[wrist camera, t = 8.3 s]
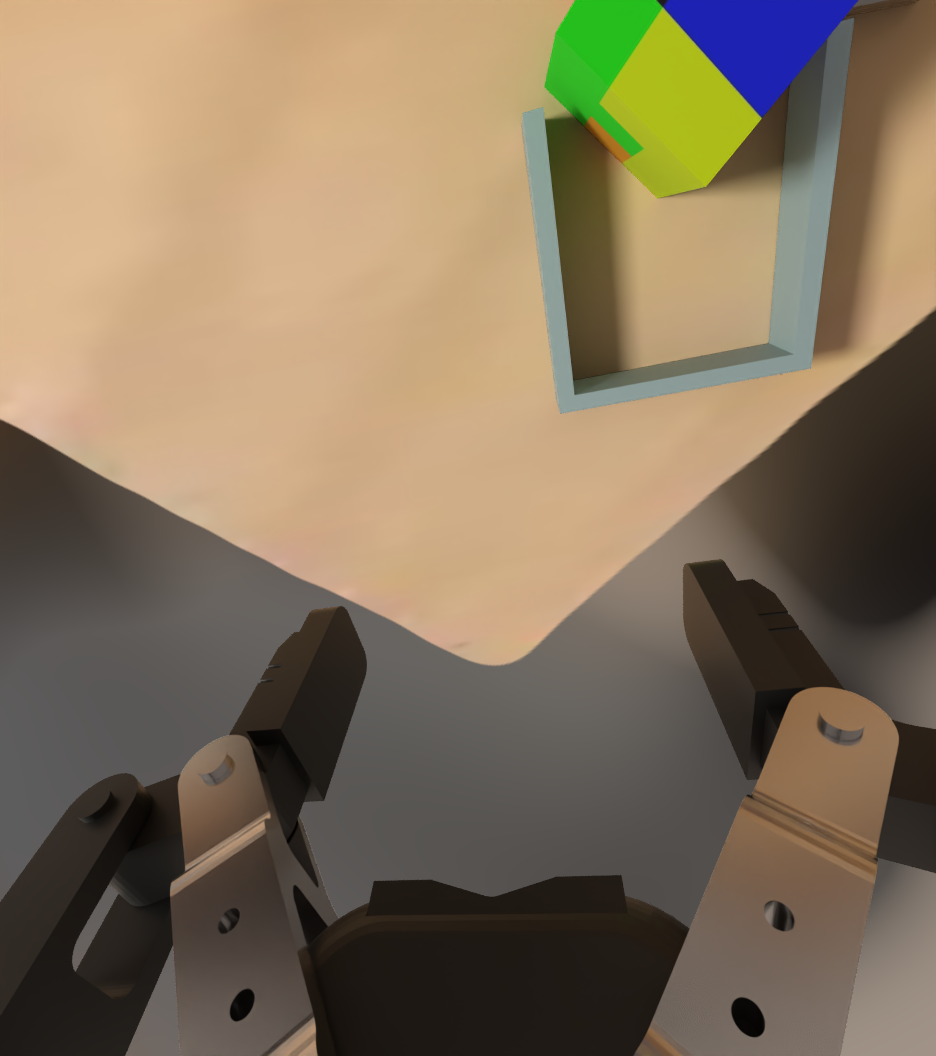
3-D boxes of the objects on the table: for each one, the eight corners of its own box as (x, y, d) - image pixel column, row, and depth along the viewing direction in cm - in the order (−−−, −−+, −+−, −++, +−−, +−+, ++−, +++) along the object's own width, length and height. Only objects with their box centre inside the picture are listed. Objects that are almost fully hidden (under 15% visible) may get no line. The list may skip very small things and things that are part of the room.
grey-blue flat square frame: (521, 125, 32) (522, 113, 29) (814, 42, 29) (854, 17, 26) (556, 398, 41) (560, 413, 38) (784, 356, 38) (811, 368, 35)
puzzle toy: (785, 33, 29) (898, -49, 21) (657, 198, 34) (706, 186, 25) (665, -112, 27) (737, -273, 18) (544, 87, 31) (555, 32, 23)
